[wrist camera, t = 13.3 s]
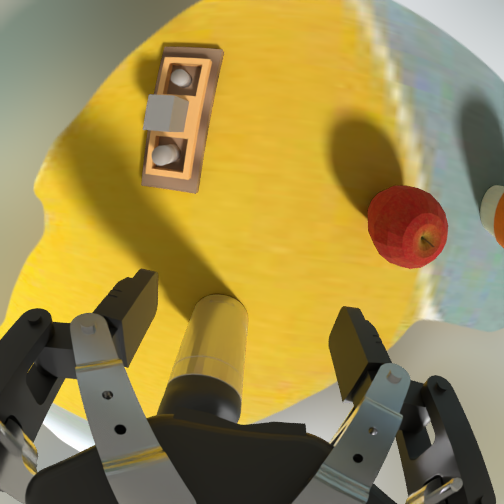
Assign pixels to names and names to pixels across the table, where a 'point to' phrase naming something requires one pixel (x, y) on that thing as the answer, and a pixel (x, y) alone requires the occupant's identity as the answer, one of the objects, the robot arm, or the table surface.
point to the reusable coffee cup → (494, 212)
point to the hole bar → (175, 115)
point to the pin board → (186, 83)
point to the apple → (407, 226)
